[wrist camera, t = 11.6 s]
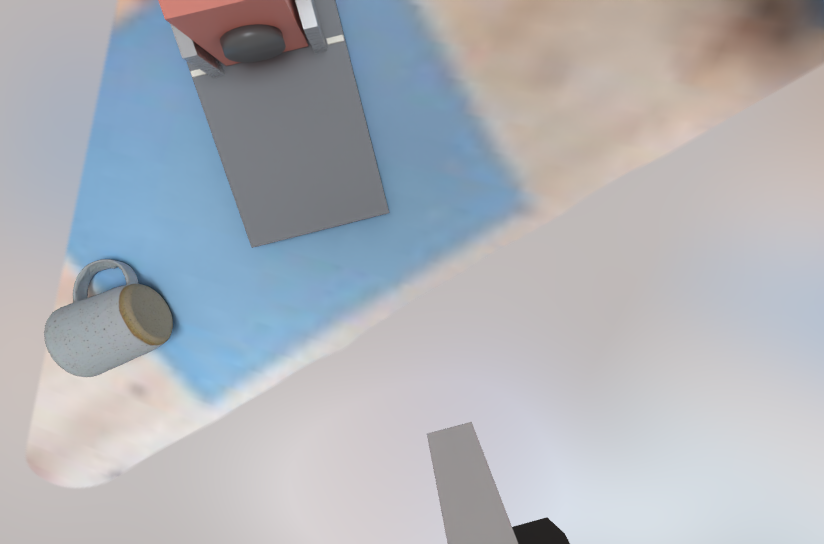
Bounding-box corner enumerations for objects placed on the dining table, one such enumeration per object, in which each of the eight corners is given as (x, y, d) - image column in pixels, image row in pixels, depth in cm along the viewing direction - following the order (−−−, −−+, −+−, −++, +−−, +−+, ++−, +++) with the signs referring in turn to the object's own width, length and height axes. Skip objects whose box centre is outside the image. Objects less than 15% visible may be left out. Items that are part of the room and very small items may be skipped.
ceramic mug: (189, 329, 44) (149, 358, 36) (123, 358, 44) (70, 392, 37) (137, 244, 42) (84, 256, 34) (68, 274, 42) (0, 293, 34)
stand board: (319, -58, 37) (317, -69, 35) (388, 211, 43) (389, 213, 41) (163, -21, 36) (153, -31, 35) (256, 245, 42) (251, 248, 41)
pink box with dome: (292, -13, 36) (256, -94, 25) (311, 57, 37) (285, 8, 27) (207, 7, 36) (135, -66, 25) (229, 77, 37) (170, 35, 26)
